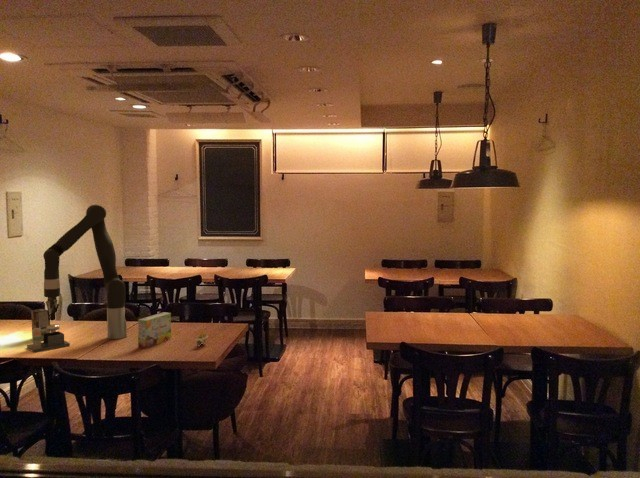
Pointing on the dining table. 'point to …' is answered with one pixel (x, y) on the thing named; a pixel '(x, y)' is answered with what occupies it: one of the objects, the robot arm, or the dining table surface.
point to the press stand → (47, 341)
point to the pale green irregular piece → (201, 338)
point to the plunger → (50, 328)
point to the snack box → (154, 329)
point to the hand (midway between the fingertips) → (52, 320)
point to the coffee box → (40, 320)
